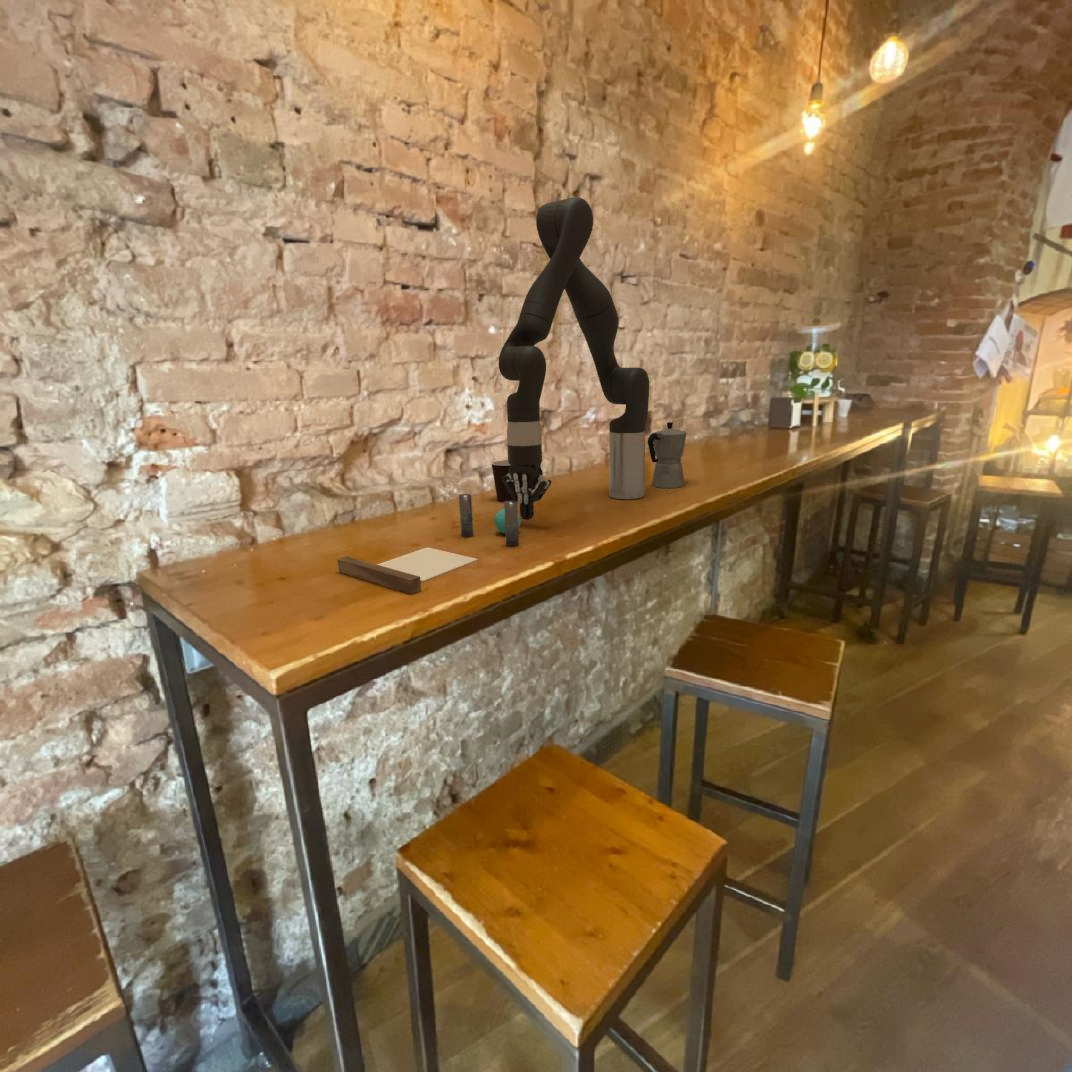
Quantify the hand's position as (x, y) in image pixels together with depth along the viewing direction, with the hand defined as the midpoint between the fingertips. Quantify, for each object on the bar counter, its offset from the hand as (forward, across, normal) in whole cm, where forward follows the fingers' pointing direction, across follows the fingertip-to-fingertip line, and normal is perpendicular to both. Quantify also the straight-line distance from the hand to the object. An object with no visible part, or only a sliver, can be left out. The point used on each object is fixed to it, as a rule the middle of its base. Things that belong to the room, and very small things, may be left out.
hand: (527, 519), depth 138 cm
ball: (-1, 0, +7) cm, 7 cm away
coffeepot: (+2, -7, -55) cm, 55 cm away
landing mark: (+2, 0, +31) cm, 31 cm away
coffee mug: (+2, +20, -20) cm, 28 cm away
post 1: (+2, +6, +13) cm, 14 cm away
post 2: (+2, -6, +13) cm, 15 cm away
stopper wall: (+2, 0, +42) cm, 42 cm away
